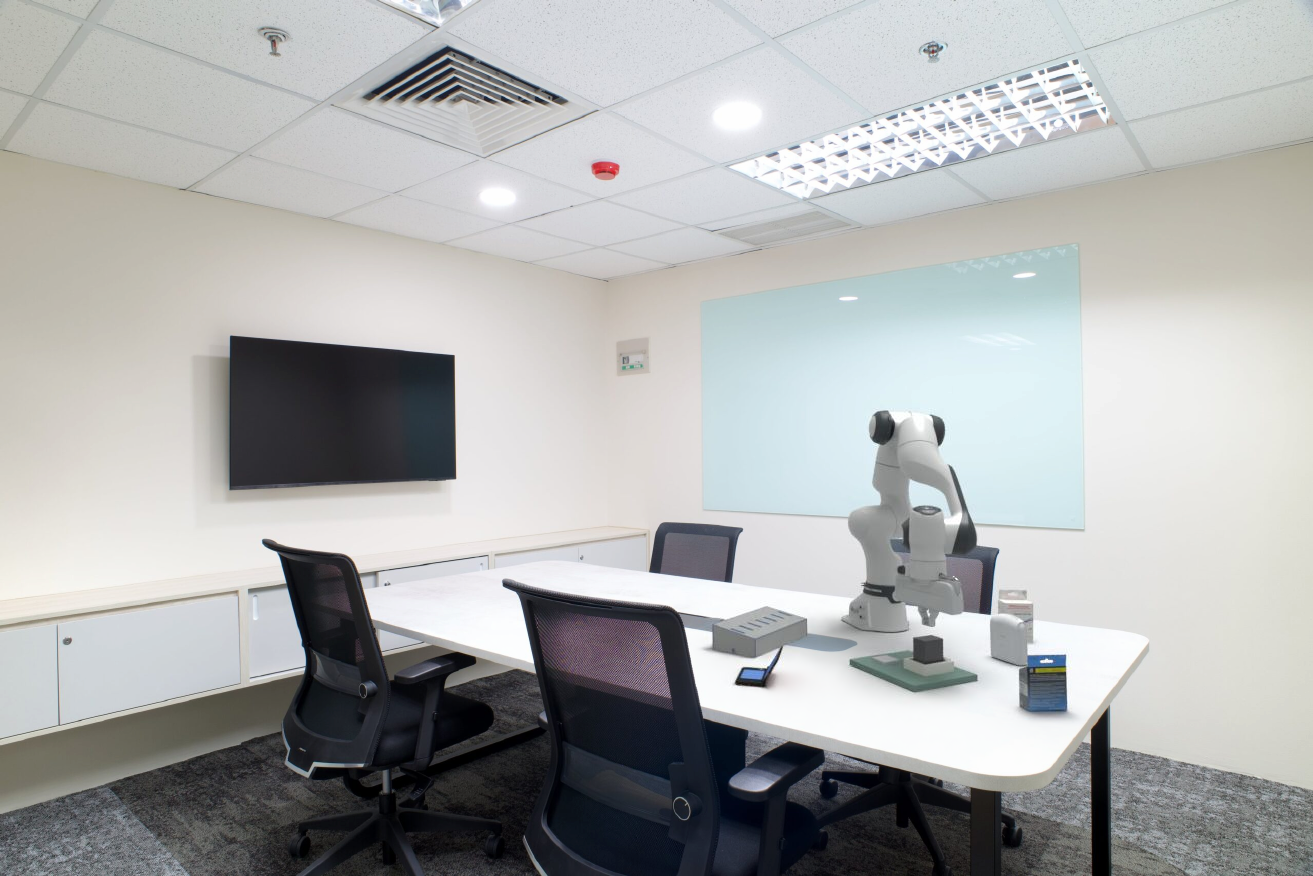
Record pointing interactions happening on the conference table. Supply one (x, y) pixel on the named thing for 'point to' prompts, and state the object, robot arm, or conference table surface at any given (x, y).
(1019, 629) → the photo printer
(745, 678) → the handheld game console
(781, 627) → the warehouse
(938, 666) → the board
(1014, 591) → the ink cartridge box
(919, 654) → the plug
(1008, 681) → the conference table surface
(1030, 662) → the label tape cartridge
